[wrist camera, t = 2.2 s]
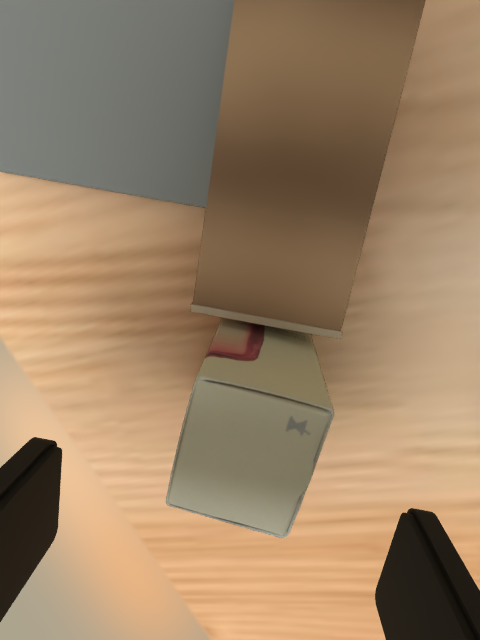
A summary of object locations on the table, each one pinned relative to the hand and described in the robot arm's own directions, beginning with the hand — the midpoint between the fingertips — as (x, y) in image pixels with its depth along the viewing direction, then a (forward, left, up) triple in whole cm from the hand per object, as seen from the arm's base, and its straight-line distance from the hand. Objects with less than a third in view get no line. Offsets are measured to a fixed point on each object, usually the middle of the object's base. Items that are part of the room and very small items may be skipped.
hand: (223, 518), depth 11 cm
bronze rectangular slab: (-10, 0, -10) cm, 14 cm away
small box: (-1, 0, -10) cm, 10 cm away
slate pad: (-13, -8, -10) cm, 18 cm away
